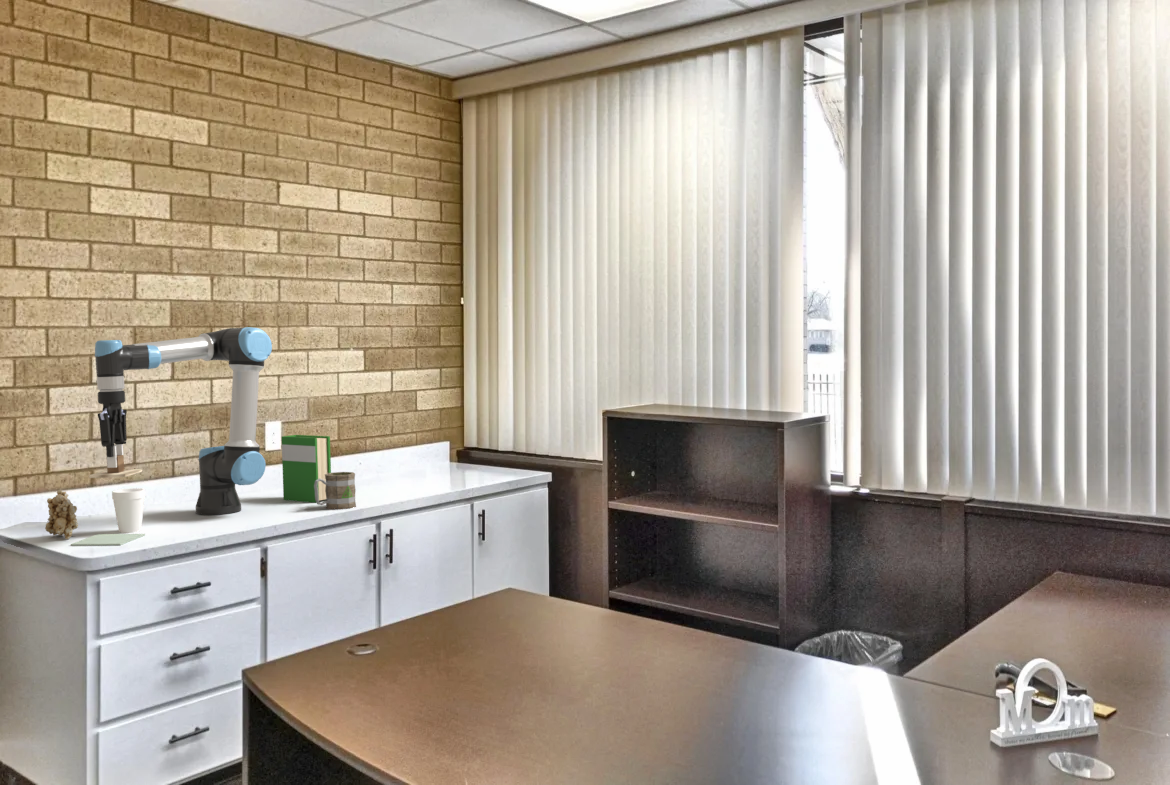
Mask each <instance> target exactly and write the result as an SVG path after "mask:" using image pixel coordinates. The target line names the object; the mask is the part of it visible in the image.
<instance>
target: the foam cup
mask: <svg viewBox="0 0 1170 785" xmlns="http://www.w3.org/2000/svg"><path fill="white" fill-rule="evenodd" d="M145 497H146V489H145V488H143V487H142V488H141V487H140V488H139V487H138V488H137V487H136V488H135V487H131V488H121V489H114V490H113V491H111V498H112V501H113V505H114V506H113V507H114V513H115V517H116V522H117V527H118V532H119V534H133V533H137V532H140V531H142V527H143V517H144V505H145Z"/></svg>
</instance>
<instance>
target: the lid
mask: <svg viewBox="0 0 1170 785" xmlns="http://www.w3.org/2000/svg"><path fill="white" fill-rule="evenodd" d="M106 468H107V467H106ZM141 472H143V468H134V469H133V468H132V469H131V468H130V469H129V468H128V469H126V468H125V458H124V454H123V455H117V467H116V468H107V469H106V470H103V471H100V472H96V473H92V474H89V475H88V478H89V479H95V478H96V479H98V478H99V479H101V478H103V479H104V478H125V477H130V476H132V475H135V474H139V473H141Z"/></svg>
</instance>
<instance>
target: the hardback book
mask: <svg viewBox="0 0 1170 785" xmlns="http://www.w3.org/2000/svg"><path fill="white" fill-rule="evenodd" d="M281 456H282V457H281V462H282V464H281V465H282V489H283V490H282V491H283V501H291V502H302V503H313V504H317V502H316V500H315V490H314V483H315V481H316V480H317V479H319V478H320V479H323V480H324V481H325V482H326V479H325V474H328V473H332V465H331V463H332V460H331V459H332V458H331V457H332V456H331V436H330V435H329V436H328V435H308V434H292V435H283V436H281ZM317 488H318V497H319V501H326V492H325V489H326V485H325V484H324V483H322V482H321V481H319V482H318V485H317Z"/></svg>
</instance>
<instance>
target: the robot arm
mask: <svg viewBox="0 0 1170 785" xmlns="http://www.w3.org/2000/svg"><path fill="white" fill-rule="evenodd" d="M272 345H273V343H272V340H271V338H270V336H269V335H268V334H267V332H266V331H264V330H263V329H261V328H258V327H252V326H250V327H248V326H246V327H245V326H244V327H229V328H224V329H220V330H216V331H212V332H211V331H210V332H206V333H201V334H199V335H198V336H195V337H187V338H184V337H183V338H176V339H168V340H158V341H151V342H150V341H148V342H140V343H132V344H124V345H123V342H122V340H120V339H112V340H111V339H110V340H109V339H108V340H107V339H104V340H97V341H95V344H94V358H95V369H96V373H95V374H96V381H95V382H96V385H97V390H99V391H98V392H97V403H98V404H99V405H102V412H98V413H97V418H98V422H99V432H100V442H101V447H103V448H104V447H106V448H105V451H106V468H116V467H117V455H123V456H124V445H126V444H127V440H128V439H127V413H128V411H127V409H123V407H122V404H123V403H125V402H126V392H125V390H124V389H125V377H124V376H125V374H124V373H125V372H124V371H128V370H129V371H132V370H133V371H136V370H151V369H152V370H153V369H157V368H158V367H159V366H160V365H163V364H169V363H170V364H171V363H180V362H187V361H195V360H203V361H204V362H210V361H225V362H226V361H227V362H228V366H229V368H230V369H231V370H232V380H231V381H232V382H231V398H230V400H231V403H230V420H229V437H228V440H227V442H226V443H224V445H219V446H212V447H211V446H210V447H202V448H200V450H199V453H198V466H199V467H198V468H199V470H198V471H199V489H200V490H199V494H198V498H197V501H196V504H195V514H197V515H201V516H202V515H203V516H205V515H207V516H209V515H210V516H212V515H213V516H215V515H226V514H232V513H237V512H240V511H242V502H241V500H240V497H239V495H238V493H237V492H238V491H237V490H236V485H238V486H249V485H253V484H256V483H257V482H259V481H260V480H261V479H262V477H263V475H264V473H265V471H266V467H267V466H266V465H267V464H266V460H265V457H264V456H263V455H262V454H261V453H260V450H261V449H260V447H261V446H260V445H259V443H257V441H256V440H257V439H256V438H257V436H256V435H257V421H258V420H257V419H258V418H257V417H258V401H259V400H258V399H259V381H260V380H259V379H260V372H261V371H262V370H263V369H264V368H265V361H266V360H267V359H268V358H269V357H270V355H271V354H272V349H273V346H272Z"/></svg>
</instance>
